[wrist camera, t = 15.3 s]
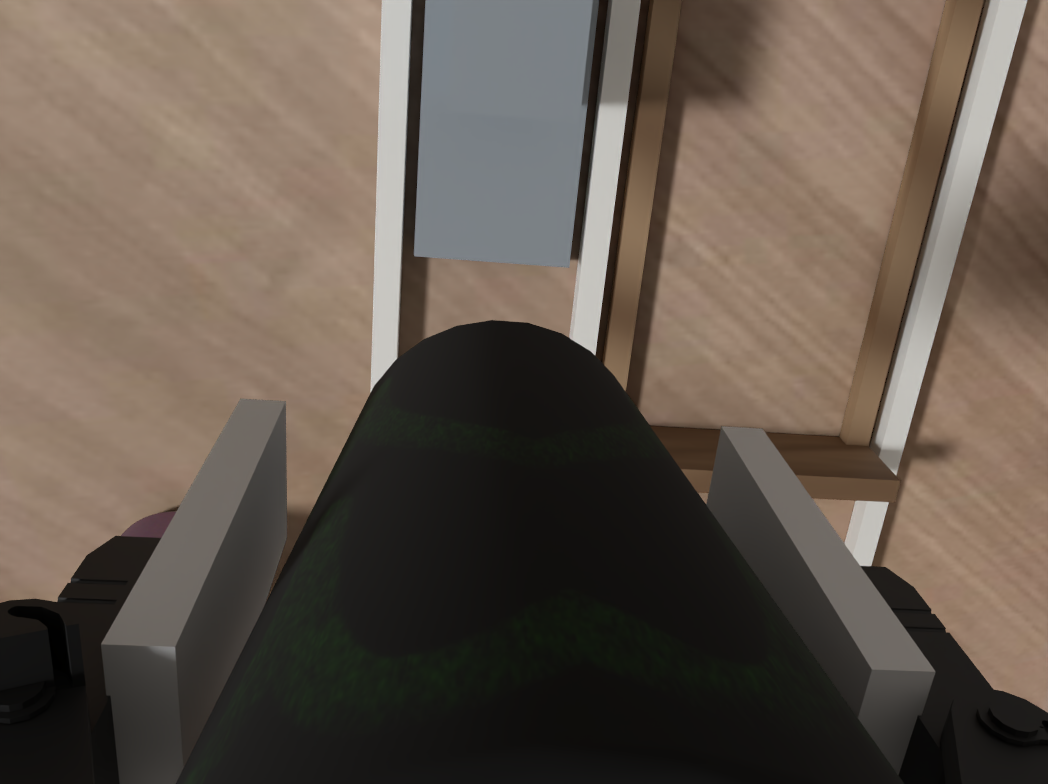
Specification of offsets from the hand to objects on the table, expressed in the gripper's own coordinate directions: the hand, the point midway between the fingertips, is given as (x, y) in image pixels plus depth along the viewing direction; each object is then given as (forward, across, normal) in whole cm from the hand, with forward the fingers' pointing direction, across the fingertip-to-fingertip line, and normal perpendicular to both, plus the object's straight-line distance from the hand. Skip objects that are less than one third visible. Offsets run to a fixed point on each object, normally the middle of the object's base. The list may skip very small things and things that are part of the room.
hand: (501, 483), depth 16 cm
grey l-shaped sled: (+21, +1, +4) cm, 21 cm away
